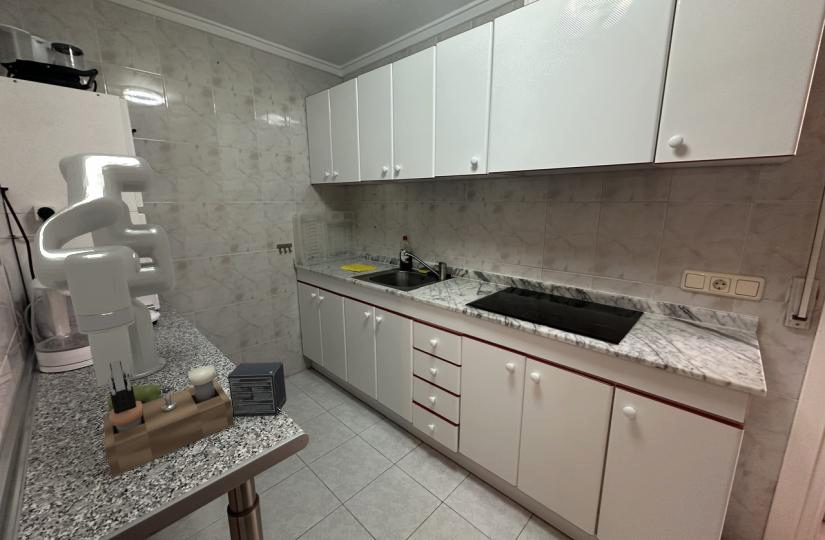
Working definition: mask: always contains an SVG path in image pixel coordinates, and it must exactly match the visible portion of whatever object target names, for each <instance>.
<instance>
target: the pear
mask: <svg viewBox="0 0 825 540" xmlns="http://www.w3.org/2000/svg"><path fill="white" fill-rule="evenodd" d="M132 386H133V391H134V396H135V401H140V402H141V403H143V402H144V403H147V402H150V401H153V400H156V399H159V398H160V396H161V394H162V386H161V385H155V384H146V385H132ZM107 407H108V409H110V411H111V410H112V409H113V405H112V400H111V396H110V395H109V396H108V398H107Z"/></svg>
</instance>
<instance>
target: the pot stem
mask: <svg viewBox="0 0 825 540" xmlns="http://www.w3.org/2000/svg"><path fill="white" fill-rule="evenodd" d="M171 391H172V390H171V387H170V386H165V387H163V388H161V394H163V395H164V396H163V397H165V403H166V404H164V405H163V406H162V411H163V412H169V411H172V410H174V409H175V408H176V407H177V405H176V402H172V401H171V396H170V395H171Z"/></svg>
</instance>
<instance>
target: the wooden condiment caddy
mask: <svg viewBox="0 0 825 540" xmlns="http://www.w3.org/2000/svg"><path fill="white" fill-rule="evenodd" d="M213 384H214V391H215V398H212V399H209V400H206V401H204V402H201V403H198V404H197V402H196V396H195V390H194V386H192V387H189V388H186V389H183V390H180V391H178V392H174V393H172V394H171V393H170V396H171V401H172V402H176V405H177V407H176V408H175V409H174V410H172V411H169V412H163V411H162V406H163V405H164V404H166V403H165V397H164V396H163V397H159V399H156V400H153V401H150V402H144V403H142V407H143V412H144V413H143V415H142V416H141V417H140V418H141V423H142V424H141V425H139V426H136V427H133V428H131V429H128V430H125V431H123V432H120V433H118V432H117V427H116V426H113V425H112V424H111V421H110V417H109V415H105V416H104V417H103V429H104V431H103V432H104V448H105V453H106V457H107V462H108V466H109V469H110V474H111V478H114V477H117V476H120V475H122V474H123V473H126V472H128V471H131V470H133V469H135V468H138V467H140V466H142V465H145V464H146V463H147V464H148V463H149V462H151V461H153V460H156V459H159V458H161V457H163V456H165V455H168V454H170V453H172V452H174V451H176V450H178V449H181V448H183V447H186V446H188V445H191V444H192V443H195V442H198V441H199V440H202V439H204V438H206V437H209V436H211V435H213V434H215V433H218V432H220V431H222V430H225V429H227V428H230V427H231V426H234V425H235V421H234V416H233V411H232V402H231V397H230V396H228V394H227V393H226V392H225V390H224V389H223V387H222V386H221V384H220V383H219V381H218V380H217V379H213Z"/></svg>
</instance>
